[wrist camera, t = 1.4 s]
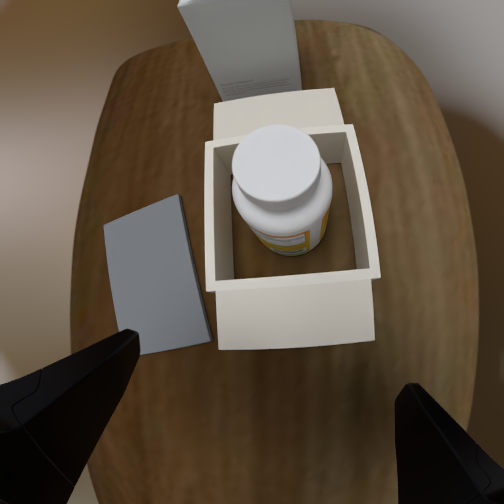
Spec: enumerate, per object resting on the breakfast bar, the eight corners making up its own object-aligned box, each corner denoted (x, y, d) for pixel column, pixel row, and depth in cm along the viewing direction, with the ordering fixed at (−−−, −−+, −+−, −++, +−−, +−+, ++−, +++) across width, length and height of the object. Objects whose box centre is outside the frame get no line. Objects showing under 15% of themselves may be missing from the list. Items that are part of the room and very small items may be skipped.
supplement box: (304, 100, 23) (290, -17, 11) (224, 111, 25) (172, 6, 13) (294, 52, 25) (278, -48, 13) (226, 62, 26) (186, -30, 14)
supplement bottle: (294, 175, 22) (281, 94, 13) (341, 225, 21) (362, 164, 11) (241, 218, 22) (194, 159, 13) (286, 272, 21) (266, 244, 12)
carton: (369, 332, 19) (384, 338, 15) (229, 341, 21) (209, 349, 16) (339, 121, 22) (341, 87, 18) (222, 135, 24) (206, 105, 20)
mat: (212, 340, 21) (210, 341, 20) (129, 356, 22) (125, 357, 22) (180, 196, 24) (177, 194, 23) (107, 226, 25) (103, 225, 24)
